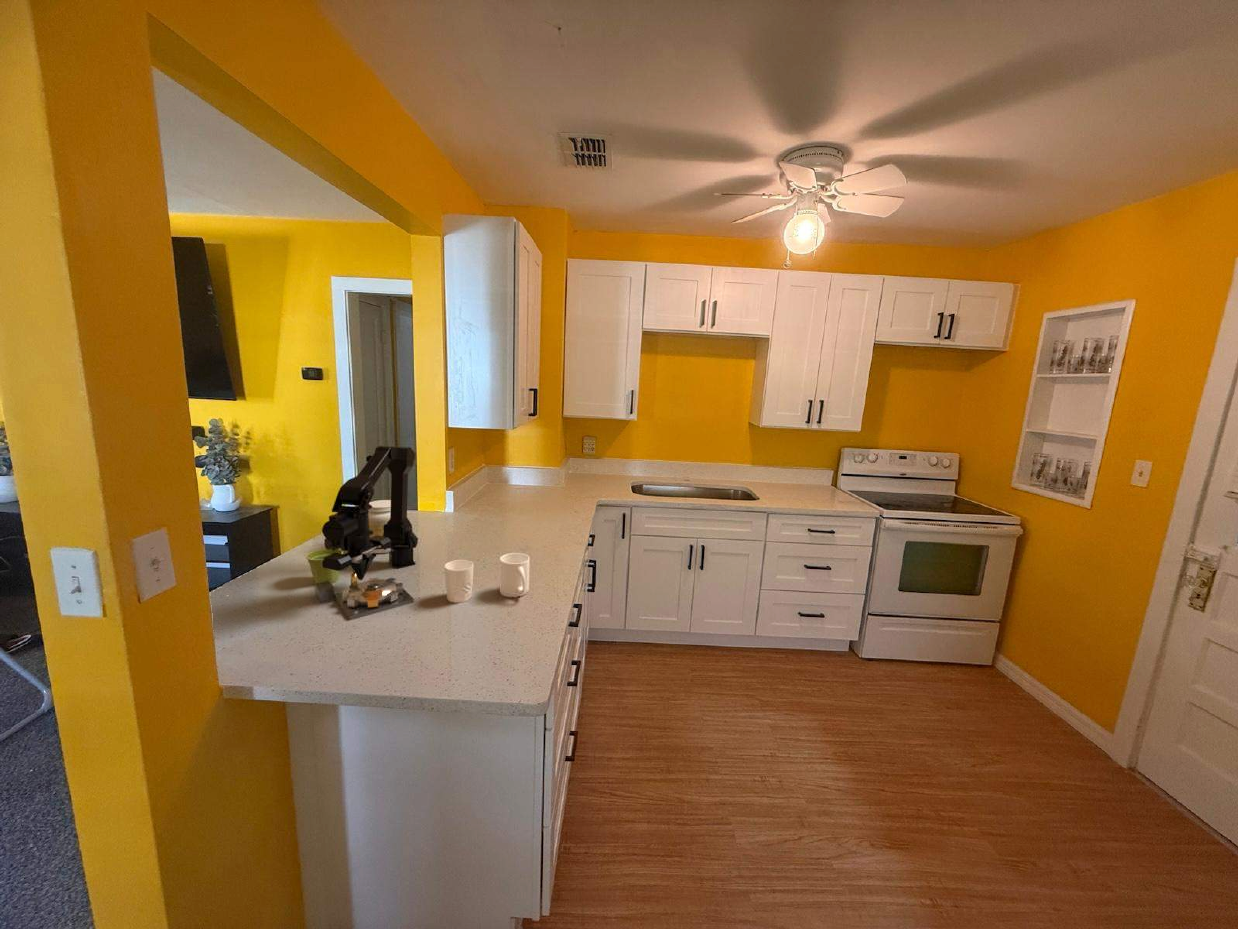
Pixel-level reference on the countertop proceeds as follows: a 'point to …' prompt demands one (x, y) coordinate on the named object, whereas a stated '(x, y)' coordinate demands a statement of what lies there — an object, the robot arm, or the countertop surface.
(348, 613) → the base plate
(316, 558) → the plant pot
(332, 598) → the taupe rectangular block
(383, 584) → the grey cog wheel
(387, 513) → the supplement tub
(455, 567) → the white cup
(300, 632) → the countertop surface
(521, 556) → the mug
